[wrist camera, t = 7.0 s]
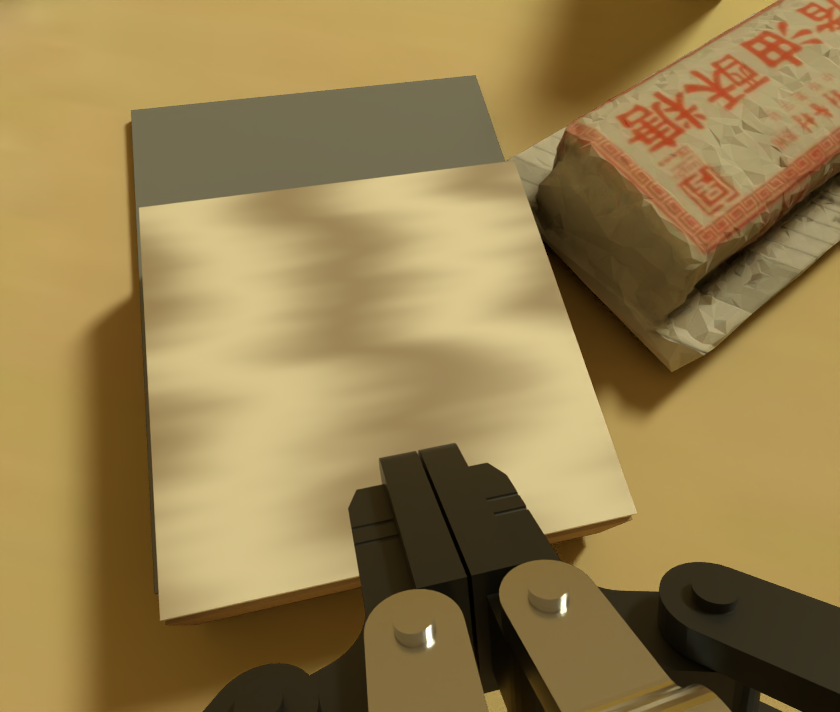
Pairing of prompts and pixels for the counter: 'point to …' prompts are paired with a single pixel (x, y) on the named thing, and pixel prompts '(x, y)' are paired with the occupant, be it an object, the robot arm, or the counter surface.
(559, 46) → the counter surface
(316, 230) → the walnut tile
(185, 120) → the mat
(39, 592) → the counter surface
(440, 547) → the robot arm
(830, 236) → the packaged product
